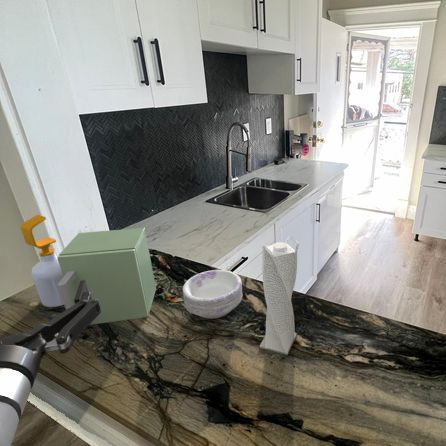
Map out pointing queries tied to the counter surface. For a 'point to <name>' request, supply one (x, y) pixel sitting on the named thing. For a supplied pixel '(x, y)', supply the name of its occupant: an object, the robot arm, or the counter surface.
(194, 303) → the paper bowls
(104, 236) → the cupboard
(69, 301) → the cupboard door
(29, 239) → the soap bottle
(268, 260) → the skyscraper
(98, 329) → the counter surface
